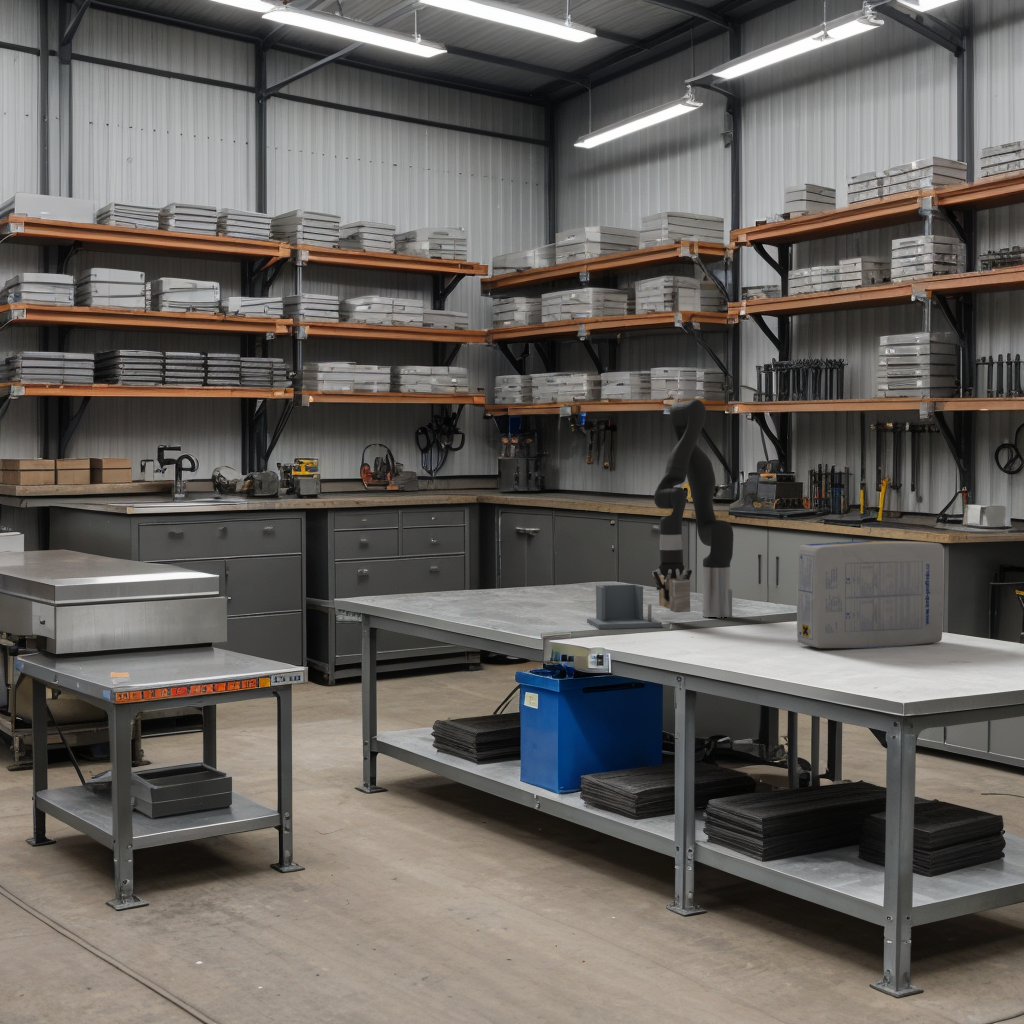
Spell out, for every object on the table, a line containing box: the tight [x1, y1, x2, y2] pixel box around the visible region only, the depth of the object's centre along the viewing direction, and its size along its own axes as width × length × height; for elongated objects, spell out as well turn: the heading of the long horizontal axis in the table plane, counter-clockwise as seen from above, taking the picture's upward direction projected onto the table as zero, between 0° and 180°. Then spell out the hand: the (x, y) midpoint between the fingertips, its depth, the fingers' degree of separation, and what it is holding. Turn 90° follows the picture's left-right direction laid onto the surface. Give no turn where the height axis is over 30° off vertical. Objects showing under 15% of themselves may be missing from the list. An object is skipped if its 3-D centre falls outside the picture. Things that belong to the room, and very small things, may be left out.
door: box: [655, 574, 691, 613], centre depth 398 cm, size 19×5×10 cm, turn 12°
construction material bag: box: [796, 540, 945, 649], centre depth 351 cm, size 43×12×30 cm, turn 108°
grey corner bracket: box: [586, 583, 663, 630], centre depth 397 cm, size 21×15×12 cm
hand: (672, 600), depth 399 cm, fingers closed on door, 3 cm apart
